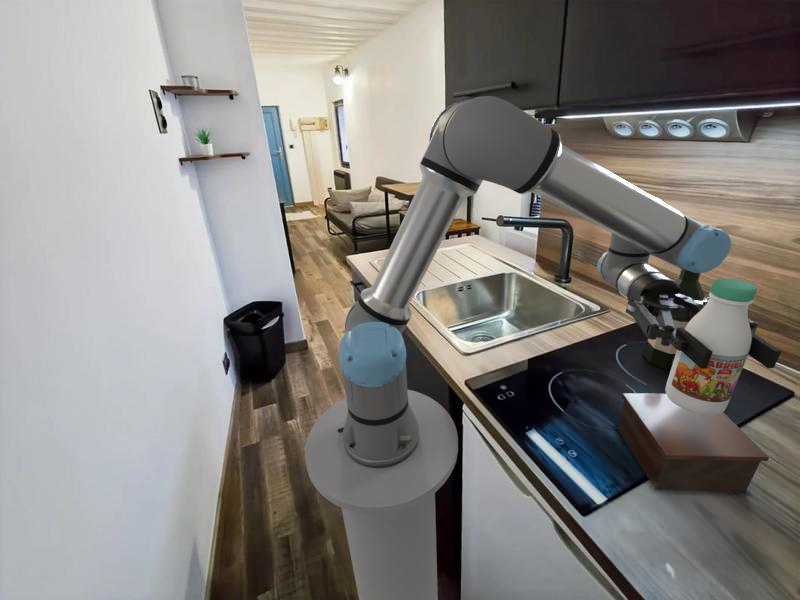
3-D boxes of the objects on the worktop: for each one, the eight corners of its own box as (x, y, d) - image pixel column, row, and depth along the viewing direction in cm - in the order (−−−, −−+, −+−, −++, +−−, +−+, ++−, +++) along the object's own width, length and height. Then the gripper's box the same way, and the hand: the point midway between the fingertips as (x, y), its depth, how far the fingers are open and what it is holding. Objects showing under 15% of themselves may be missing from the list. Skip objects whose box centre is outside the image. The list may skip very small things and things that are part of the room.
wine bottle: (635, 353, 90) (666, 235, 78) (662, 347, 92) (697, 231, 79) (665, 372, 83) (704, 246, 70) (694, 365, 85) (738, 241, 72)
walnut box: (653, 491, 57) (666, 455, 54) (613, 425, 70) (622, 393, 66) (750, 494, 56) (769, 457, 52) (691, 427, 68) (704, 393, 65)
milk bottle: (652, 387, 61) (685, 276, 52) (696, 382, 61) (735, 271, 53) (690, 420, 54) (734, 298, 45) (739, 414, 54) (792, 292, 46)
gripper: (700, 307, 70) (813, 382, 49) (589, 309, 72) (652, 382, 51) (712, 270, 66) (838, 334, 46) (595, 273, 68) (665, 337, 48)
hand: (740, 360), depth 49 cm, fingers closed on milk bottle, 8 cm apart
